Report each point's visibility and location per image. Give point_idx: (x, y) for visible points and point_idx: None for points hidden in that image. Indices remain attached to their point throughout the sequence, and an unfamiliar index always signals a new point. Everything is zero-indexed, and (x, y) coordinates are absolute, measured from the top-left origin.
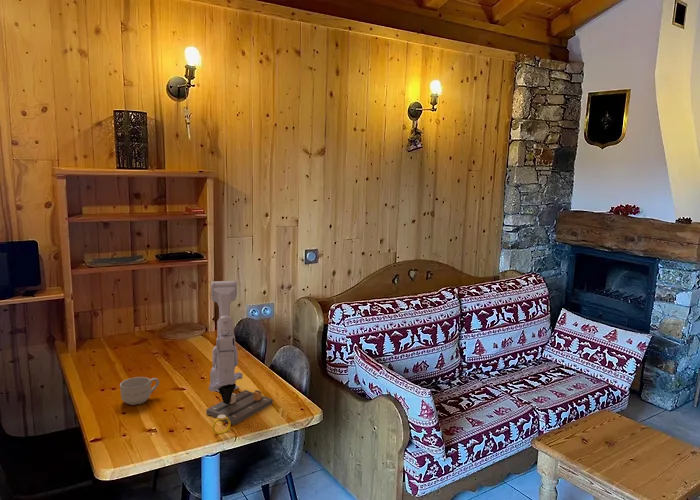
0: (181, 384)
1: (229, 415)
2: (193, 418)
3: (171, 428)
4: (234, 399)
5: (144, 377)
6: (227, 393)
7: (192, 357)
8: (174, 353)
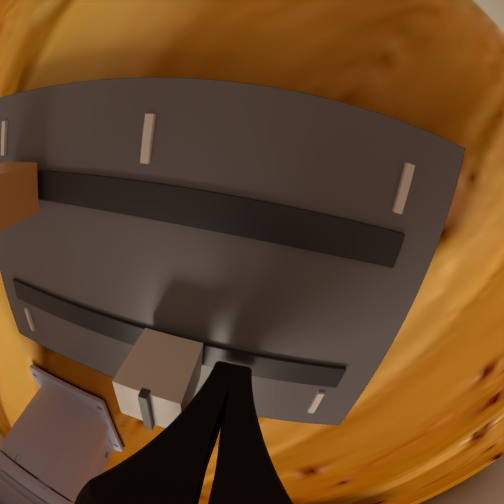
0: None
1: (397, 247)
2: (396, 413)
3: (478, 410)
4: (150, 352)
5: None
6: (267, 481)
7: None
8: None
